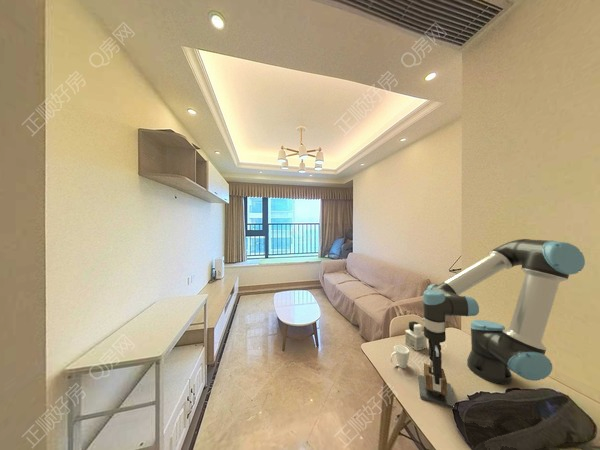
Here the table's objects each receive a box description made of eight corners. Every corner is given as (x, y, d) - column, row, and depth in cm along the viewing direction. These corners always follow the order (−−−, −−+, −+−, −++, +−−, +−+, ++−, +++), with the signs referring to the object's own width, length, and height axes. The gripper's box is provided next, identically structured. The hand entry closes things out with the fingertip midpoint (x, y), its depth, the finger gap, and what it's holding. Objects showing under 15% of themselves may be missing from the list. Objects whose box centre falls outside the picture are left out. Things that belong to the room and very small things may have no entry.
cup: (413, 368, 94) (413, 351, 94) (396, 372, 91) (395, 355, 91) (402, 358, 101) (402, 343, 101) (386, 362, 98) (385, 346, 98)
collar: (443, 382, 82) (443, 368, 82) (446, 395, 76) (446, 380, 76) (423, 376, 85) (423, 363, 85) (425, 388, 79) (425, 374, 79)
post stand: (450, 386, 83) (449, 362, 83) (457, 410, 72) (457, 382, 72) (417, 377, 88) (417, 354, 88) (420, 398, 78) (419, 372, 78)
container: (405, 343, 114) (404, 321, 114) (415, 340, 116) (414, 319, 116) (416, 351, 106) (415, 327, 106) (427, 348, 109) (426, 325, 109)
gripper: (421, 316, 91) (422, 364, 91) (426, 338, 73) (427, 398, 73) (440, 319, 88) (441, 369, 88) (451, 344, 70) (452, 407, 70)
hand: (435, 382), depth 80 cm, fingers closed on collar, 7 cm apart
